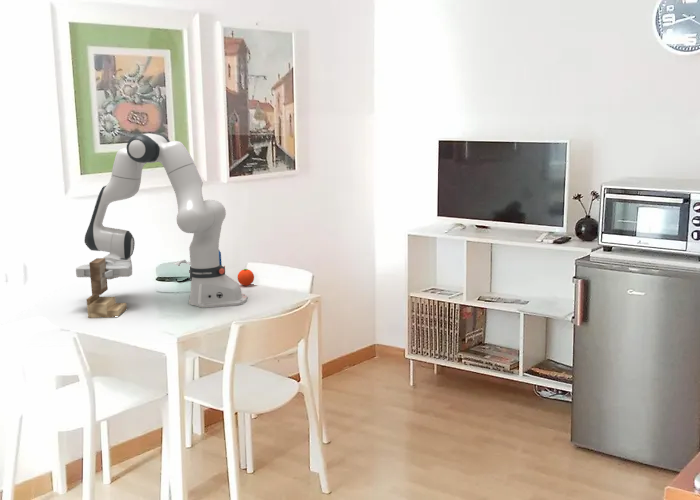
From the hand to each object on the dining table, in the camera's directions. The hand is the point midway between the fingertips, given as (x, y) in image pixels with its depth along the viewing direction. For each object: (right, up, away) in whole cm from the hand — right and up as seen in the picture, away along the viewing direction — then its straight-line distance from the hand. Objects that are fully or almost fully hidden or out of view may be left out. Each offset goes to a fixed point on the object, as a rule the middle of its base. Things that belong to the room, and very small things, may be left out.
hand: (97, 275), depth 293 cm
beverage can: (+33, -3, +59) cm, 68 cm away
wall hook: (+23, -4, +53) cm, 58 cm away
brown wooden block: (0, -6, +2) cm, 7 cm away
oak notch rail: (+2, -14, +4) cm, 15 cm away
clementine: (+49, -6, +42) cm, 65 cm away
